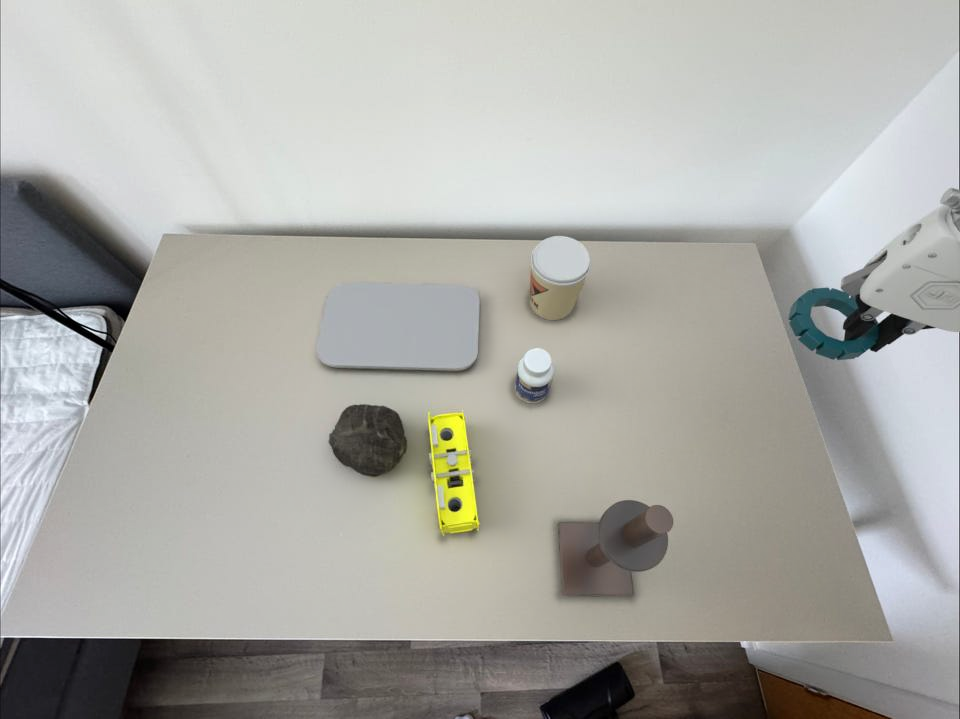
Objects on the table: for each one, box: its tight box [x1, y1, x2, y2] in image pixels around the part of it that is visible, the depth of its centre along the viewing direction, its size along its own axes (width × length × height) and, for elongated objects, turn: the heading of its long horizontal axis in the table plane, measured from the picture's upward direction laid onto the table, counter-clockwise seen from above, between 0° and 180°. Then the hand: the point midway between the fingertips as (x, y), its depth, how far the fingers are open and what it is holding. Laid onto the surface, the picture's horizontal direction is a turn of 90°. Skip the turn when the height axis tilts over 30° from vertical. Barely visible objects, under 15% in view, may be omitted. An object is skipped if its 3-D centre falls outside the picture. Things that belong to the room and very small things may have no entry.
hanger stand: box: [557, 499, 674, 597], centre depth 55 cm, size 9×9×28 cm
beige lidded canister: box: [529, 235, 592, 321], centre depth 82 cm, size 9×9×12 cm
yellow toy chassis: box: [427, 409, 481, 537], centre depth 69 cm, size 16×6×8 cm, turn 8°
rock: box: [328, 403, 408, 478], centre depth 71 cm, size 10×11×10 cm
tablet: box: [315, 281, 481, 372], centre depth 84 cm, size 16×26×2 cm, turn 88°
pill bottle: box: [514, 347, 555, 404], centre depth 75 cm, size 5×5×10 cm
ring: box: [787, 286, 879, 361], centre depth 57 cm, size 9×9×2 cm
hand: (861, 336), depth 57 cm, fingers closed on ring, 2 cm apart
